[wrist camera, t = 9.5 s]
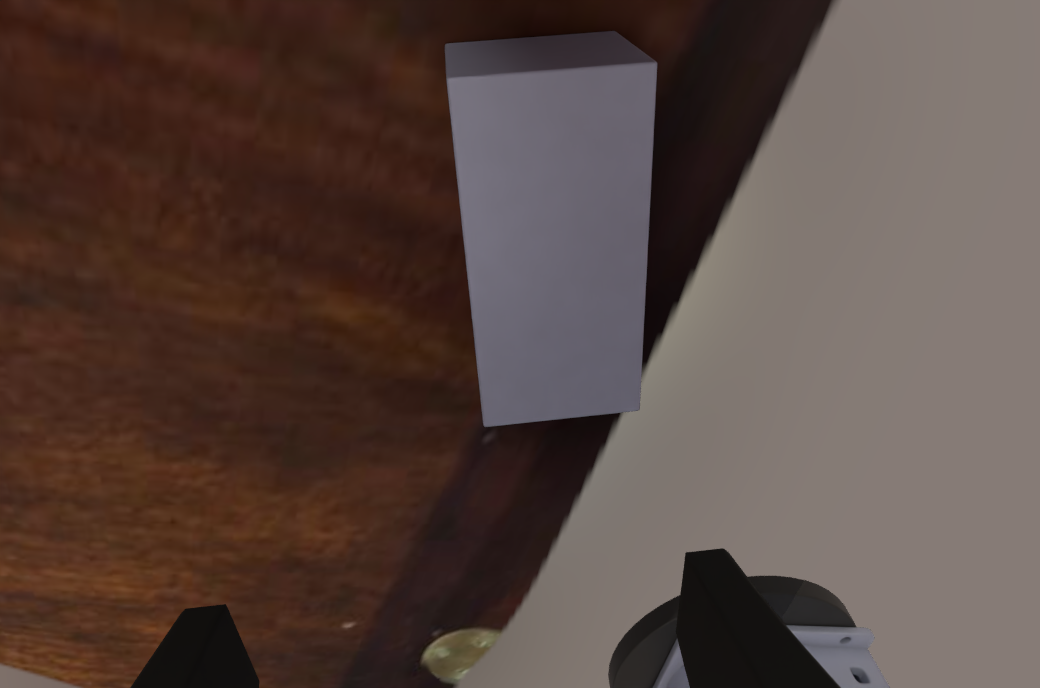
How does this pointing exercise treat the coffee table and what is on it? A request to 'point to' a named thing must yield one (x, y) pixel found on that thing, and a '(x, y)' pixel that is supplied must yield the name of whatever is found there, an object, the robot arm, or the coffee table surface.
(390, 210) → the coffee table surface
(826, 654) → the robot arm
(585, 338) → the gray rectangular block
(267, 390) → the coffee table surface
